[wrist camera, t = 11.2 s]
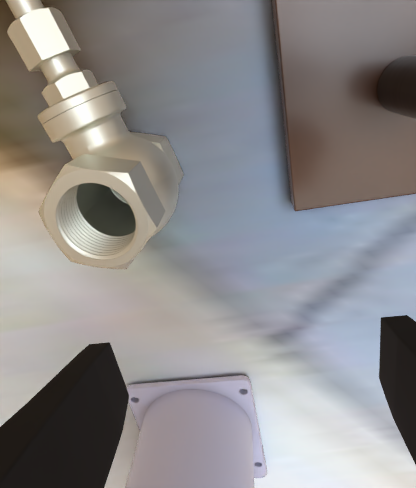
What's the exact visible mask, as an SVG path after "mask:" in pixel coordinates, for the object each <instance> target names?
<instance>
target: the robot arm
mask: <svg viewBox="0 0 416 488" xmlns="http://www.w3.org/2000/svg"><path fill="white" fill-rule="evenodd" d="M379 379H380V382H381V385H382V388H383V391H384V394H385V397H386V400H387V402H388V405H389V408H390V410H391V413H392V416H393V419H394V421H395V423H396V425H397V427H398V429H399V431H400V433H401V435H402V437H403V439H404V441H405V444H406V446H407V448H408V450H409V452H410V454H411V456H412V458H413V460H414V462H415V464H416V322H415V321H414V320H413V319H411V318H410V317H409V316H407V315H405V316H394V317H383V318H381V336H380V370H379ZM242 389H245V390H242ZM135 397H136V398H135ZM128 402H129V404H130V407H131V409H132V412H133V415H134V417H135V420H136V422H137V425H138V427H139V430H140V434H139V438H138V442H137V446H136V449H135V453H134V457H133V460H132V464H131V468H130V472H129V475H128V479H127V483H126V486H125V488H254V478H262V477H265V476H266V475H267V467H266V462H265V457H264V451H263V446H262V441H261V435H260V430H259V425H258V419H257V414H256V409H255V403H254V398H253V393H252V387H251V382H250V379H249V378H248V377H247V376H243V375H240V376H228V377H215V378H203V379H191V380H179V381H167V382H155V383H143V384H132V385H129V386H128V387H127V388H126V385H125V383H124V380H123V377H122V375H121V372H120V369H119V366H118V364H117V361H116V358H115V355H114V353H113V350H112V347H111V345H110V343H99V344H89V345H88V346H87V347H86V348H85V349H84V350H82V351H81V352H80V353H79V354H78V355H77V356H76V357H75V358H74V359H73V360H72V361H71V362H70V363H69V364H67V365H66V366H65V367H64V368H63V369H62V370H61V371H60V372H59V373H58V374H57V375H56V376H55V377H54V378H53V379H52V380H51V381H50V382H49V383H48V384H47V385H46V386H45V387H44V388H43V389H41V390H40V391H39V392H38V393H37V394H36V395H35V396H34V397H33V398H32V399H31V400H30V401H29V402H28V403H27V404H26V405H25V406H23V407H22V408H21V409H20V410H19V411H18V412H17V413H16V414H14V415H13V416H12V417H11V418H10V419H9V420H8V421H7V422H5V423H4V424H3V425H2V426H1V427H0V488H104V486H105V483H106V480H107V477H108V474H109V471H110V468H111V465H112V462H113V459H114V456H115V453H116V450H117V447H118V444H119V441H120V437H121V434H122V430H123V425H124V421H125V416H126V411H127V405H128Z"/></svg>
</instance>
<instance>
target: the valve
mask: <svg viewBox="0 0 416 488" xmlns="http://www.w3.org/2000/svg"><path fill="white" fill-rule="evenodd" d="M6 2H7V4H8V6H9V8H10V9H11V11H12V13H13V15H14V17H15V18H16V20H14V21H13V22H12V23H11V25H10V26H9V29H8V31H7V33H8V35H9V37H10V38H11V40H12V42H13V44H14V45H15V47H16V49H17V51H18V52H19V54H20V56H21V58H22V59H23V61H24V63H25V65H26V66H27V68H28V70H29V71H42V72H43V74H44V76H45V77H46V79H47V81H48V86H46V87H45V88H44V90H43V92H42V94H43V96H44V98H45V100H46V101H47V103H48V105H49V107H48V108H47V109H45V110H44V111H42V112H41V113H40V114H39V115H38V119H39V120H40V122H41V124H42V125H43V127H44V129H45V131H46V132H47V134H48V136H49V137H50V139H51V141H52V142H57V141H62V142H63V143H64V144H65V146H66V148H67V150H68V151H69V153H70V155H71V157H72V159H73V160H72V161H70V162H69V163H67V164H65V165H64V167H63V168H62V170H61V171H60V173H59V174H58V176H57V178H56V179H55V181H54V183H53V184H52V186H51V188H50V190H49V191H48V193H47V195H46V197H45V199H44V201H43V203H42V205H41V207H40V209H39V214H40V216H41V219H42V221H43V223H44V225H45V227H46V228H47V230H48V232H49V233H50V235H51V237H52V238H53V240H54V241H55V243H56V244H57V245H58V247H59V248H60V250H61V251H62V252H63V253H64V254H65V256H66V257H67V258H68V259H69V260H70V261H72V262H75V263H79V264H83V265H88V266H93V267H101V268H111V269H127V268H128V266H129V265H130V264H131V262H132V261H133V260H134V259H135V257H136V256H137V255H138V253H139V252H140V251H141V249H142V248H143V247H144V245H145V244H146V242H147V241H148V240H149V238H150V237H152V236H154V235H155V234H156V233H158V232H159V231H160V230H161V229H162V228H163V227H164V226H165V225H166V224H167V223H168V222H169V220H170V218H171V217H172V215H173V213H174V211H175V208H176V205H177V201H178V194H179V188H178V185H179V184H180V182H181V180H182V178H183V176H184V174H183V172H182V169H181V167H180V164H179V162H178V160H177V158H176V155H175V153H174V151H173V149H172V147H171V145H170V143H169V141H168V139H167V138H166V137H165V136H159V135H153V134H146V133H137V132H129V131H128V129H127V127H126V125H125V123H124V121H123V119H122V117H121V112H122V111H124V110H125V109H126V105H125V103H124V101H123V99H122V97H121V95H120V93H119V91H118V89H117V87H116V85H115V83H114V82H113V81H110V82H105V83H102V84H99V85H98V83H97V81H96V79H95V77H94V75H93V73H92V71H89V70H80V69H79V68H78V66H77V64H76V62H75V60H74V58H73V56H74V55H76V54H77V53H78V52H80V51H81V49H80V47H79V45H78V43H77V41H76V40H75V38H74V36H73V34H72V32H71V30H70V28H69V26H68V24H67V22H66V20H65V18H64V16H63V14H62V12H61V11H59V10H58V9H56V8H53V7H44V6H43V4H42V2H41V0H6Z"/></svg>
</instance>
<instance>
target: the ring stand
mask: <svg viewBox="0 0 416 488" xmlns="http://www.w3.org/2000/svg"><path fill="white" fill-rule="evenodd" d="M272 8H273V18H274V29H275V39H276V49H277V60H278V70H279V80H280V91H281V101H282V111H283V122H284V132H285V142H286V153H287V163H288V173H289V184H290V194H291V203H292V205H293V208H294V210H295V211H300V210H307V209H313V208H320V207H327V206H334V205H341V204H348V203H354V202H361V201H368V200H375V199H382V198H389V197H395V196H402V195H409V194H416V0H272Z"/></svg>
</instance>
